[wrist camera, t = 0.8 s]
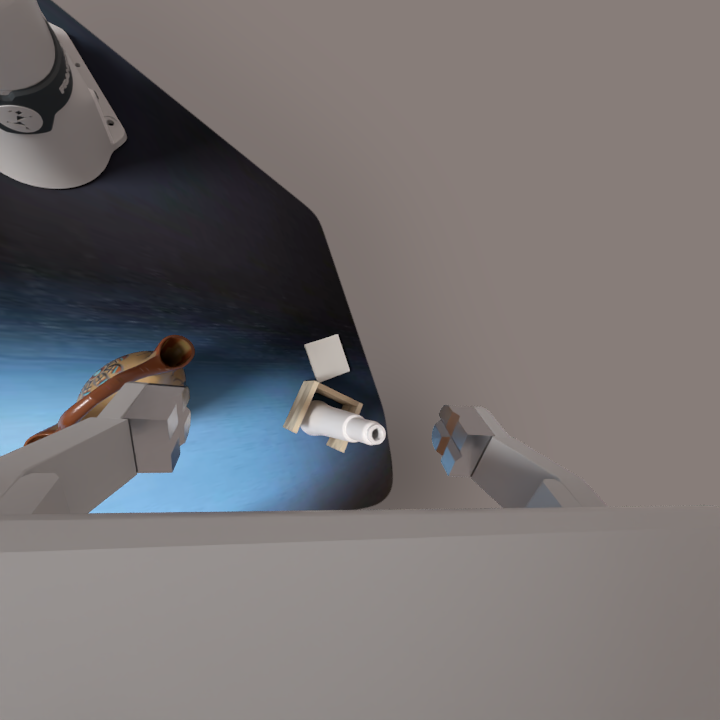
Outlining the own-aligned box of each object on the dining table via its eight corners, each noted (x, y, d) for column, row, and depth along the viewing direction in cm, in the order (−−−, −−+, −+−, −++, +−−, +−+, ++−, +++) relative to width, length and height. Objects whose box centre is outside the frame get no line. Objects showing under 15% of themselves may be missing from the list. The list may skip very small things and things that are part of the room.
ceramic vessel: (169, 331, 48) (142, 282, 25) (214, 376, 50) (226, 367, 27) (58, 412, 42) (-107, 443, 19) (115, 460, 44) (27, 536, 21)
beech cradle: (330, 446, 57) (343, 452, 52) (282, 426, 54) (291, 431, 48) (348, 402, 59) (363, 404, 54) (303, 381, 56) (314, 380, 51)
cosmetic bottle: (319, 393, 57) (382, 396, 37) (338, 420, 58) (409, 437, 38) (291, 415, 55) (342, 431, 35) (311, 442, 56) (372, 473, 36)
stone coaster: (304, 344, 56) (305, 344, 56) (336, 334, 59) (337, 334, 59) (317, 383, 57) (318, 383, 56) (348, 370, 60) (350, 370, 59)
